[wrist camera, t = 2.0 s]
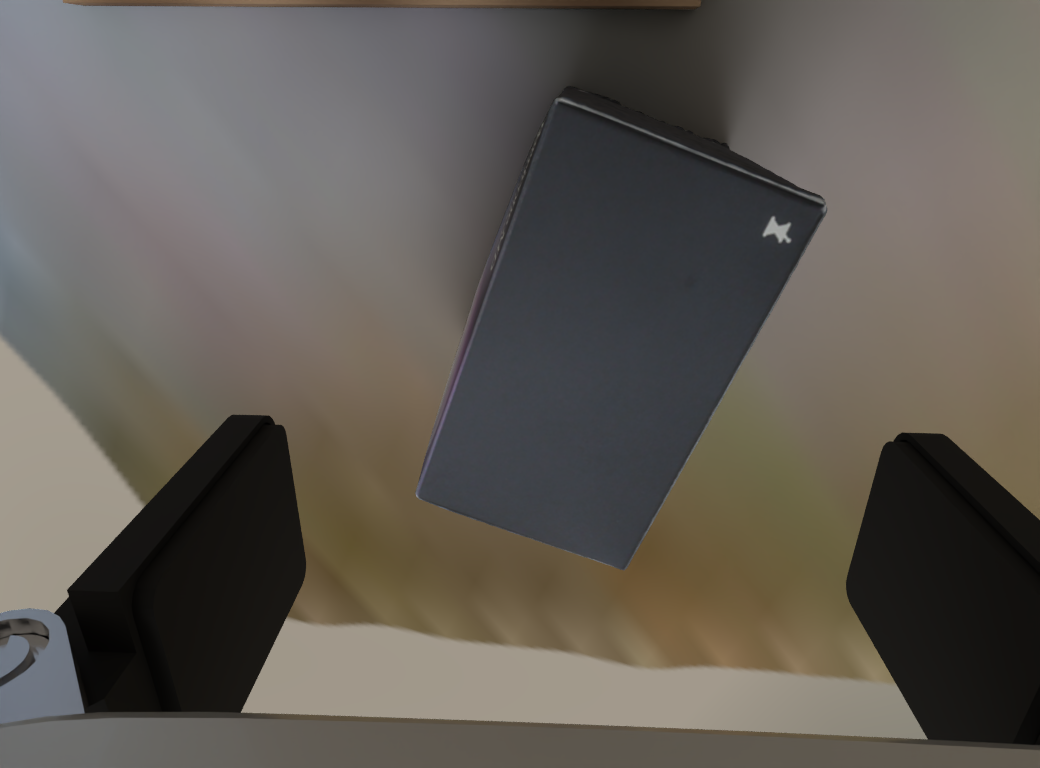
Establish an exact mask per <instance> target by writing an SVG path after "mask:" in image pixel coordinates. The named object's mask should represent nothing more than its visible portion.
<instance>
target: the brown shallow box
mask: <svg viewBox="0 0 1040 768" xmlns="http://www.w3.org/2000/svg"><path fill="white" fill-rule="evenodd" d="M63 3H69V4H76V5H84V6H234V7H395V8H557V9H696V8H698V7H700V5H701V0H63Z"/></svg>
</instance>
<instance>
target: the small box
mask: <svg viewBox="0 0 1040 768" xmlns="http://www.w3.org/2000/svg"><path fill="white" fill-rule="evenodd" d="M826 212H827V206H826V203H825V200H824V199H823V198H822V197H821V196H820V195H817V194H815V193H812V192H809V191H807V190H804V189H801V188H799V187H797V186H796V185H794V184H792V183H791V182H789V181H787V180H785V179H783V178H782V177H779V176H778V175H776V174H774V173H773V172H771V171H769V170H767V169H765V168H763V167H761V166H760V165H758V164H756V163H754V162H753V161H751V160H749V159H747V158H745V157H743V156H741V155H738V154H737V153H735V152H733V151H731V150H730V149H729V146H728V145H727V143H722V144H720V143H719V142H718V141H716V140H714V139H709V138H701V137H698V136H696V135H694V134H693V132H691V131H685V130H684V129H683V128H681V127H679V126H675V127H673V126H671V125H669V124H666V123H665V122H662V121H658V120H656V119H654V118H651V117H648V116H646V115H644V114H643V113H642V112H637V111H634V110H631V109H629V108H627V107H623V106H621V105H620V103H619V102H618V101H615V100H611V99H609V98H608V97H602V96H600V95H598V94H593V93H590V92H586V91H583V90H579V89H577V88H575V87H566V88H565V89H564V91H563V92H562V93H561V95H560V96H559V97H558V98H556V99H555V100H554V101H553V103H552V105H551V107H550V109H549V111H548V114H547V116H546V118H545V119H544V121H543V123H542V125H541V127H540V129H539V132H538V134H537V136H536V138H535V140H534V143H533V145H532V147H531V150H530V152H529V154H528V157H527V159H526V162H525V164H524V166H523V169H522V171H521V174H520V176H519V179H518V181H517V184H516V187H515V189H514V192H513V194H512V197H511V200H510V202H509V205H508V207H507V210H506V212H505V215H504V218H503V220H502V223H501V225H500V228H499V231H498V233H497V236H496V239H495V241H494V244H493V247H492V249H491V252H490V255H489V257H488V260H487V263H486V265H485V268H484V271H483V274H482V276H481V279H480V282H479V284H478V287H477V290H476V293H475V296H474V300H473V303H472V306H471V309H470V312H469V315H468V319H467V322H466V325H465V328H464V331H463V334H462V337H461V340H460V343H459V346H458V349H457V352H456V356H455V359H454V362H453V365H452V369H451V372H450V375H449V378H448V381H447V385H446V388H445V391H444V394H443V398H442V401H441V404H440V407H439V410H438V414H437V417H436V420H435V424H434V427H433V431H432V435H431V438H430V442H429V445H428V449H427V452H426V456H425V459H424V463H423V467H422V471H421V475H420V479H419V482H418V486H417V489H416V496H417V497H418V498H419V499H421V500H424V501H426V502H429V503H431V504H434V505H436V506H438V507H441V508H444V509H446V510H449V511H452V512H455V513H458V514H461V515H464V516H467V517H469V518H471V519H474V520H478V521H481V522H485V523H487V524H489V525H492V526H496V527H498V528H501V529H504V530H507V531H509V532H512V533H515V534H518V535H521V536H525V537H528V538H531V539H534V540H536V541H539V542H542V543H545V544H548V545H551V546H554V547H556V548H559V549H562V550H565V551H568V552H571V553H574V554H577V555H580V556H583V557H586V558H589V559H592V560H595V561H598V562H601V563H604V564H607V565H610V566H613V567H615V568H618V569H620V570H625V569H626V568H627V567H628V565H629V564H630V562H631V560H632V558H633V556H634V554H635V553H636V551H637V549H638V548H639V546H640V544H641V542H642V541H643V539H644V537H645V535H646V534H647V532H648V530H649V528H650V526H651V525H652V523H653V521H654V519H655V517H656V516H657V514H658V512H659V510H660V509H661V507H662V505H663V503H664V502H665V500H666V498H667V496H668V494H669V492H670V491H671V489H672V487H673V486H674V484H675V482H676V481H677V479H678V477H679V475H680V473H681V471H682V470H683V468H684V466H685V464H686V462H687V461H688V459H689V457H690V455H691V454H692V452H693V450H694V448H695V447H696V445H697V443H698V442H699V440H700V438H701V436H702V434H703V432H704V431H705V429H706V428H707V426H708V424H709V422H710V420H711V418H712V416H713V414H714V413H715V411H716V409H717V407H718V406H719V404H720V402H721V400H722V399H723V397H724V395H725V393H726V391H727V390H728V388H729V386H730V384H731V383H732V381H733V379H734V377H735V375H736V373H737V371H738V369H739V368H740V366H741V364H742V362H743V361H744V359H745V357H746V356H747V354H748V352H749V351H750V349H751V347H752V345H753V343H754V342H755V340H756V338H757V336H758V334H759V332H760V330H761V329H762V327H763V325H764V324H765V322H766V320H767V318H768V317H769V315H770V313H771V312H772V310H773V308H774V306H775V305H776V303H777V301H778V299H779V297H780V295H781V293H782V292H783V290H784V288H785V286H786V284H787V283H788V281H789V279H790V277H791V275H792V273H793V272H794V270H795V269H796V267H797V265H798V263H799V260H800V259H801V257H802V256H803V254H804V252H805V250H806V248H807V246H808V245H809V243H810V241H811V239H812V238H813V236H814V234H815V232H816V230H817V229H818V227H819V225H820V223H821V222H822V220H823V218H824V216H825V215H826Z"/></svg>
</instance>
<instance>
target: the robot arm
mask: <svg viewBox="0 0 1040 768" xmlns="http://www.w3.org/2000/svg"><path fill="white" fill-rule="evenodd" d="M305 572H306V558H305V552H304V545H303V539H302V532H301V526H300V519H299V513H298V507H297V500H296V494H295V487H294V481H293V474H292V468H291V462H290V455H289V449H288V442H287V436H286V431H285V429H284V427H283V426H282V425H275V423H274V421H273V419H272V418H271V417H270V416H261V415H231V416H230V417H228V418H227V419H226V421H225V422H224V423H223V424H222V425H221V426H220V427H219V428H218V429H217V430H216V431H215V432H214V433H213V434H212V435H211V437H210V438H209V439H208V440H207V441H206V442H205V443H204V444H203V445H202V446H201V447H200V448H199V449H198V450H197V452H196V453H195V454H194V455H193V456H192V457H191V458H190V459H189V460H188V461H187V462H186V463H185V464H184V465H183V467H182V468H181V469H180V470H179V471H178V472H177V473H176V474H175V475H174V476H173V477H172V478H171V479H170V480H169V482H168V483H167V484H166V485H165V486H164V487H163V488H162V489H161V490H160V491H159V492H158V493H157V494H156V495H155V496H154V498H153V499H152V500H151V501H150V502H149V503H148V504H147V505H146V506H145V507H144V508H143V509H142V510H141V511H140V513H139V514H138V515H137V516H136V517H135V518H134V519H133V520H132V521H131V522H130V523H129V524H128V525H127V526H126V528H125V529H124V530H123V531H122V532H121V533H120V534H119V535H118V536H117V537H116V538H115V539H114V541H112V542H111V544H110V545H109V546H108V547H107V548H106V549H105V550H104V551H103V552H102V553H101V554H100V555H99V556H98V558H97V559H96V560H95V561H94V562H93V563H92V564H91V565H90V566H89V567H88V568H87V569H86V570H85V572H83V574H82V575H81V576H80V577H79V578H78V579H77V580H76V581H75V582H74V583H73V584H72V585H71V586H70V587H69V589H68V590H67V591H68V594H69V597H68V598H67V600H66V601H65V602H64V603H63V604H62V605H61V606H60V607H59V608H58V609H57V611H56V612H55V613H52V612H50V611H48V610H39V609H30V608H29V609H21V610H12V611H7V612H3V613H0V768H1040V520H1039V519H1038V518H1037V517H1036V516H1035V515H1033V514H1032V513H1031V512H1030V511H1029V510H1028V509H1027V508H1026V507H1025V506H1023V505H1022V504H1021V503H1020V502H1019V501H1018V500H1017V499H1016V498H1015V497H1014V496H1012V495H1011V494H1010V493H1009V492H1008V491H1007V490H1006V489H1005V488H1004V487H1002V486H1001V485H1000V484H999V483H998V482H997V481H996V480H995V479H994V478H992V477H991V476H990V475H989V474H988V473H987V472H986V471H985V470H984V469H983V468H981V467H980V466H979V465H978V464H977V463H976V462H975V461H974V460H973V459H971V458H970V457H969V456H968V455H967V454H966V453H965V452H964V451H963V450H961V449H960V448H959V447H958V446H957V445H956V444H955V443H954V442H953V441H952V440H950V439H949V438H948V437H947V436H945V435H943V434H931V433H901V434H899V435H898V436H897V437H896V438H895V439H894V442H887V443H886V444H885V445H884V446H883V449H882V451H881V455H880V458H879V462H878V466H877V469H876V473H875V477H874V480H873V484H872V488H871V491H870V495H869V499H868V502H867V506H866V510H865V513H864V517H863V521H862V524H861V528H860V532H859V535H858V539H857V542H856V546H855V550H854V553H853V557H852V561H851V564H850V568H849V572H848V575H847V580H846V590H847V596H848V599H849V602H850V604H851V606H852V608H853V609H854V611H855V613H856V615H857V616H858V618H859V620H860V621H861V623H862V625H863V627H864V628H865V630H866V632H867V634H868V635H869V637H870V639H871V641H872V642H873V644H874V646H875V648H876V649H877V651H878V653H879V655H880V656H881V658H882V660H883V662H884V663H885V665H886V667H887V669H888V670H889V672H890V674H891V676H892V677H893V679H894V681H895V683H896V684H897V686H898V688H899V690H900V691H901V693H902V694H903V696H904V698H905V700H906V702H907V703H908V705H909V707H910V709H911V710H912V712H913V714H914V716H915V717H916V719H917V721H918V723H919V724H920V726H921V728H922V730H923V731H924V733H925V735H926V736H927V738H928V740H926V739H925V740H924V739H904V738H882V737H860V736H839V735H817V734H796V733H774V732H752V731H751V732H750V731H728V730H703V729H678V728H655V727H631V726H630V727H629V726H604V725H580V724H579V725H578V724H553V723H529V722H528V723H526V722H503V721H501V722H500V721H474V720H444V719H416V718H415V719H413V718H387V717H358V716H357V717H356V716H329V715H299V714H266V713H241V711H242V709H243V706H244V704H245V702H246V700H247V698H248V696H249V694H250V692H251V690H252V688H253V686H254V684H255V681H256V679H257V677H258V675H259V673H260V671H261V669H262V667H263V665H264V663H265V661H266V659H267V657H268V655H269V653H270V650H271V648H272V646H273V644H274V642H275V640H276V638H277V636H278V634H279V632H280V630H281V628H282V626H283V624H284V621H285V619H286V617H287V615H288V613H289V611H290V609H291V607H292V605H293V603H294V601H295V599H296V597H297V594H298V592H299V590H300V588H301V586H302V584H303V581H304V577H305Z"/></svg>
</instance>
